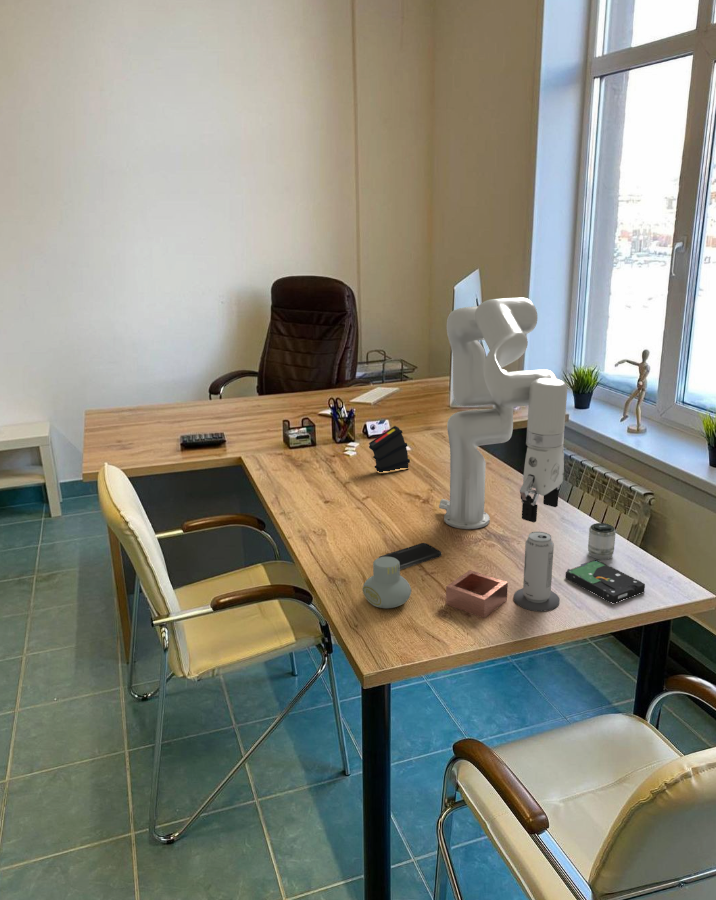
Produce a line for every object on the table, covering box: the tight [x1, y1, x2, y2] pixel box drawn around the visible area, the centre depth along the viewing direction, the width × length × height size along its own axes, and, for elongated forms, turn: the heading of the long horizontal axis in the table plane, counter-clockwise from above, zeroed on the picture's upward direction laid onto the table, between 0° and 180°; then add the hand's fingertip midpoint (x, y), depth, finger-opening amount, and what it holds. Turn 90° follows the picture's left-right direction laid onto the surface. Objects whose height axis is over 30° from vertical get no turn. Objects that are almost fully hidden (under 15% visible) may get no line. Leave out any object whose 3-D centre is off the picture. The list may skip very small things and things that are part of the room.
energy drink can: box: [522, 531, 555, 603], centre depth 169 cm, size 6×6×15 cm
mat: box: [513, 587, 561, 612], centre depth 171 cm, size 10×10×1 cm
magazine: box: [368, 425, 411, 472], centre depth 252 cm, size 4×13×15 cm, turn 115°
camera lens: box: [587, 522, 617, 561], centre depth 190 cm, size 6×6×8 cm
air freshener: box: [362, 556, 412, 609], centre depth 171 cm, size 11×8×10 cm
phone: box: [378, 542, 442, 571], centre depth 193 cm, size 8×1×15 cm
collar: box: [445, 569, 509, 619], centre depth 170 cm, size 10×10×4 cm
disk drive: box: [565, 559, 646, 604], centre depth 177 cm, size 10×3×15 cm
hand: (539, 512), depth 165 cm, fingers open, 9 cm apart
